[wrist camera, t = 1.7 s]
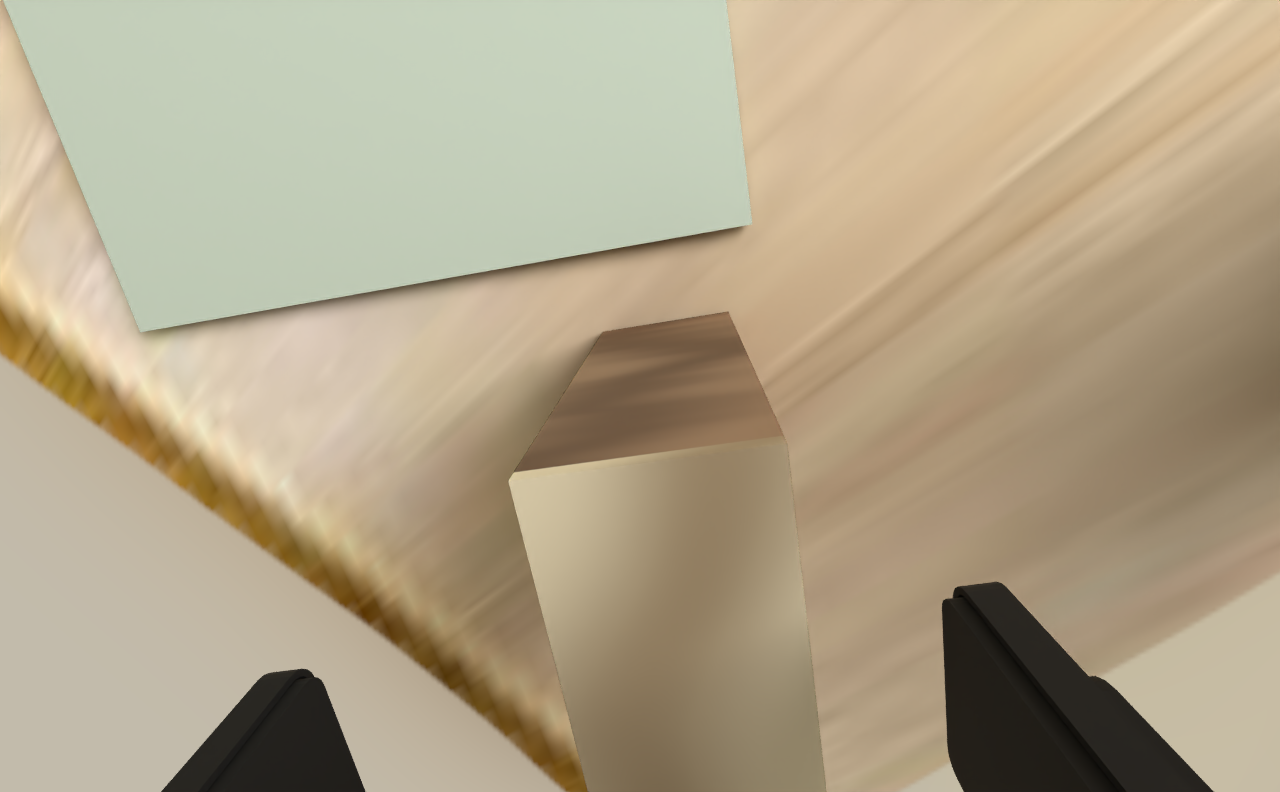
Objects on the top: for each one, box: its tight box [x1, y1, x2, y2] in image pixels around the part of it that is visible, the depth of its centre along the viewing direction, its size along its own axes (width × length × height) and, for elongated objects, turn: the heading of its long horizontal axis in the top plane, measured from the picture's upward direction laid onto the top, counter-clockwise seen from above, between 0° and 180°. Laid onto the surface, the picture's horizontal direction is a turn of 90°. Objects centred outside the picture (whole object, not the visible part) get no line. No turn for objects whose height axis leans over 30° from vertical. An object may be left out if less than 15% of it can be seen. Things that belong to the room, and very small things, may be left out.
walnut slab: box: [508, 312, 826, 792], centre depth 15 cm, size 4×7×11 cm, turn 10°
